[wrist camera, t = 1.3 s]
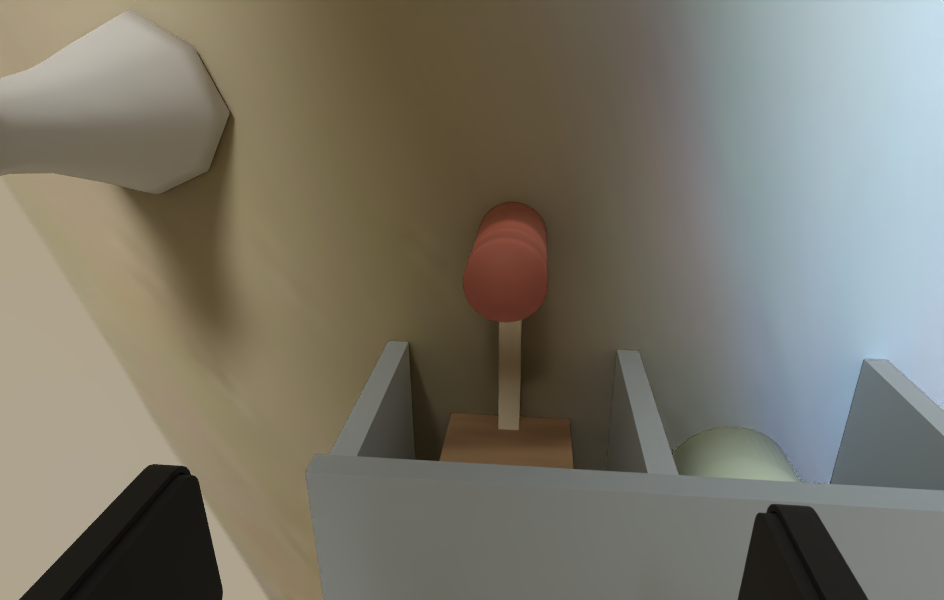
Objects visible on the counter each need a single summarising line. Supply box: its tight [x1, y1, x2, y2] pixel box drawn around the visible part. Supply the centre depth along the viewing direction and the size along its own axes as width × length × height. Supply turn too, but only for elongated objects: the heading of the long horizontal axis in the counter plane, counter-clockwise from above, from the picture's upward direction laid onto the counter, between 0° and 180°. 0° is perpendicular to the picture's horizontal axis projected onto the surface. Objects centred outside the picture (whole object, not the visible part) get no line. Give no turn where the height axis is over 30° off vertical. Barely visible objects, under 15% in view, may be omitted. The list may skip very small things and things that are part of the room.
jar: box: [672, 427, 801, 482], centre depth 27 cm, size 6×6×7 cm
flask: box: [0, 9, 230, 195], centre depth 22 cm, size 7×7×10 cm
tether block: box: [439, 202, 573, 469], centre depth 27 cm, size 17×6×6 cm, turn 1°
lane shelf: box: [305, 341, 944, 600], centre depth 26 cm, size 12×24×10 cm, turn 91°
